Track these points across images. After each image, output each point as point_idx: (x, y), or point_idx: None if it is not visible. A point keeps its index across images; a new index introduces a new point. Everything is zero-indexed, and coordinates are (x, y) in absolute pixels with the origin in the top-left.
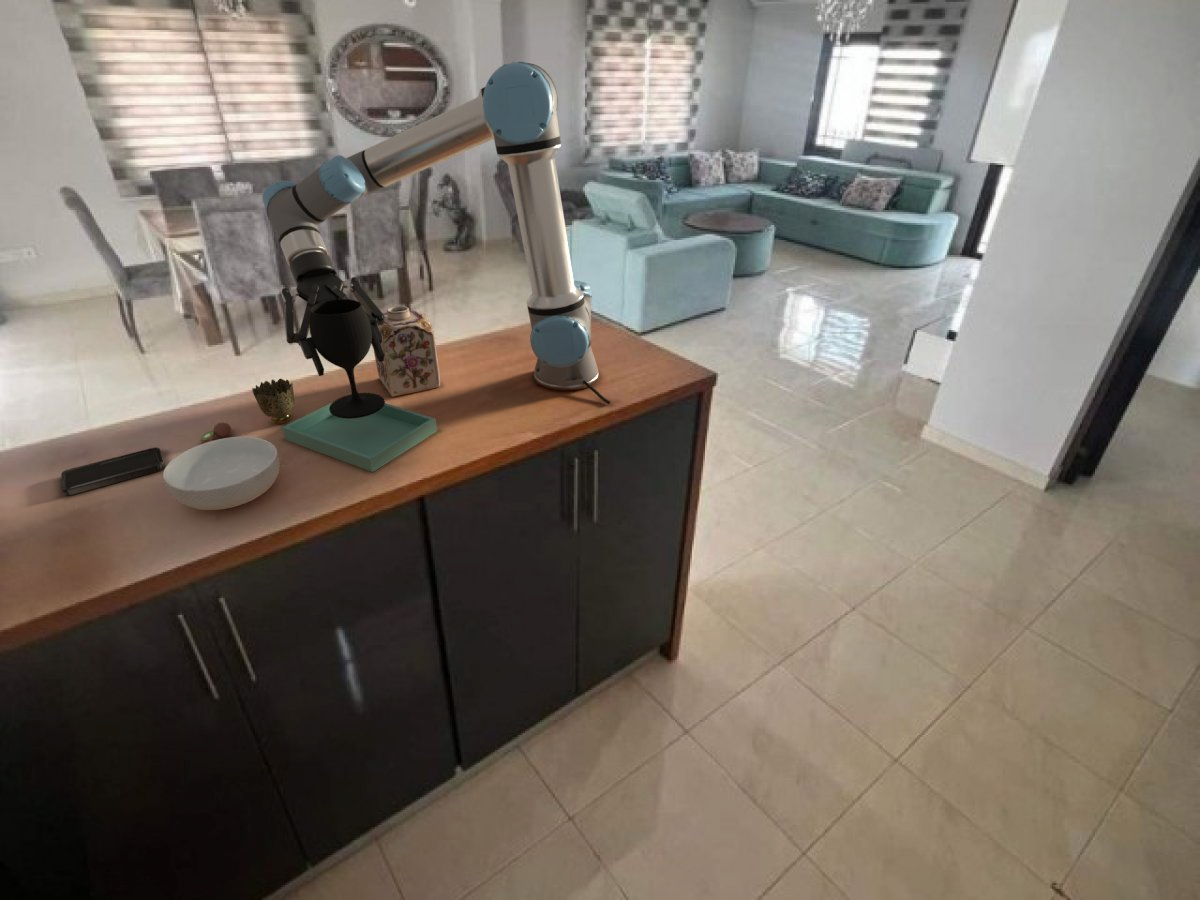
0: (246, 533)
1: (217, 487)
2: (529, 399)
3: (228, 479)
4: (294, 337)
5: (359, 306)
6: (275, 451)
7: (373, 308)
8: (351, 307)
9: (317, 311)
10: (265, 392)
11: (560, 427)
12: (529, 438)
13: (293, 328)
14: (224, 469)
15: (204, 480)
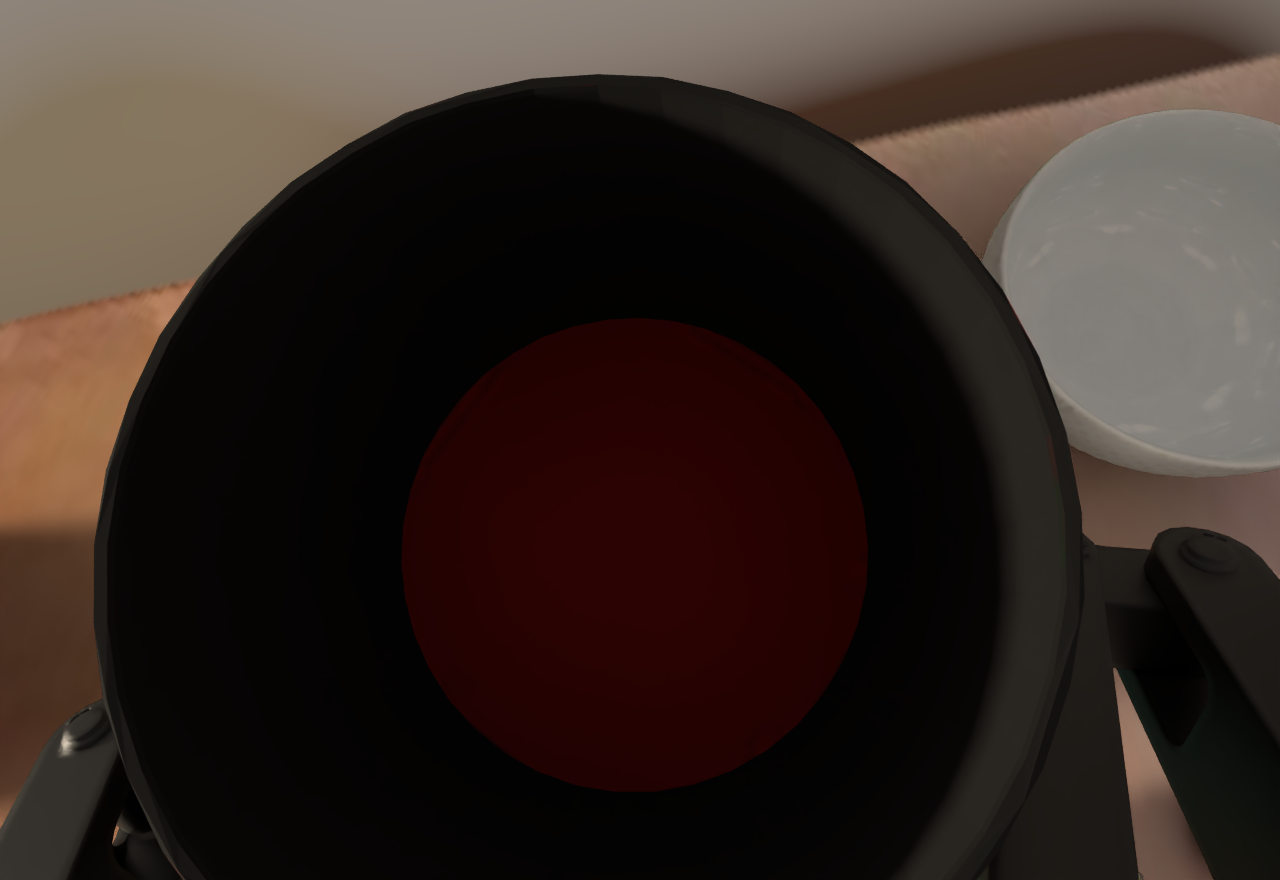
0: (1036, 140)
1: (1166, 368)
2: (25, 564)
3: (1138, 399)
4: (1132, 564)
5: (181, 646)
6: (1008, 282)
7: (42, 863)
8: (308, 846)
9: (895, 851)
10: None
11: (64, 320)
12: (181, 295)
13: (1205, 620)
14: (1168, 437)
15: (1226, 398)
